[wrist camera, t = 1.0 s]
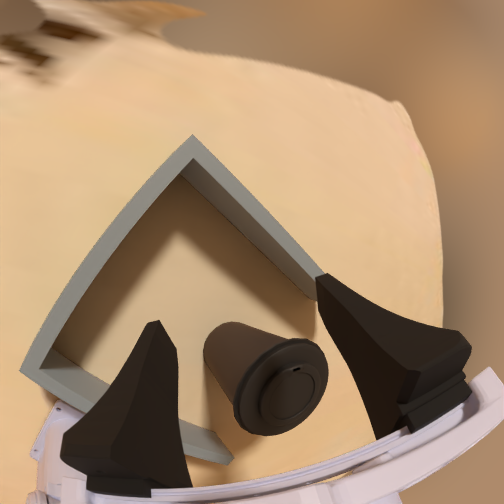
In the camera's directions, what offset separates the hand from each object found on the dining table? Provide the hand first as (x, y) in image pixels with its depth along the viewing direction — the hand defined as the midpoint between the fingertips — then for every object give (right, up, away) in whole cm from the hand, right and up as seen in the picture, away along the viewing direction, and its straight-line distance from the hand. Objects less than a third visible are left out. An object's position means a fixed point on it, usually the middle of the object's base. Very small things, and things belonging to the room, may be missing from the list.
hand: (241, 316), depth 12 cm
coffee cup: (-2, -6, +14) cm, 15 cm away
